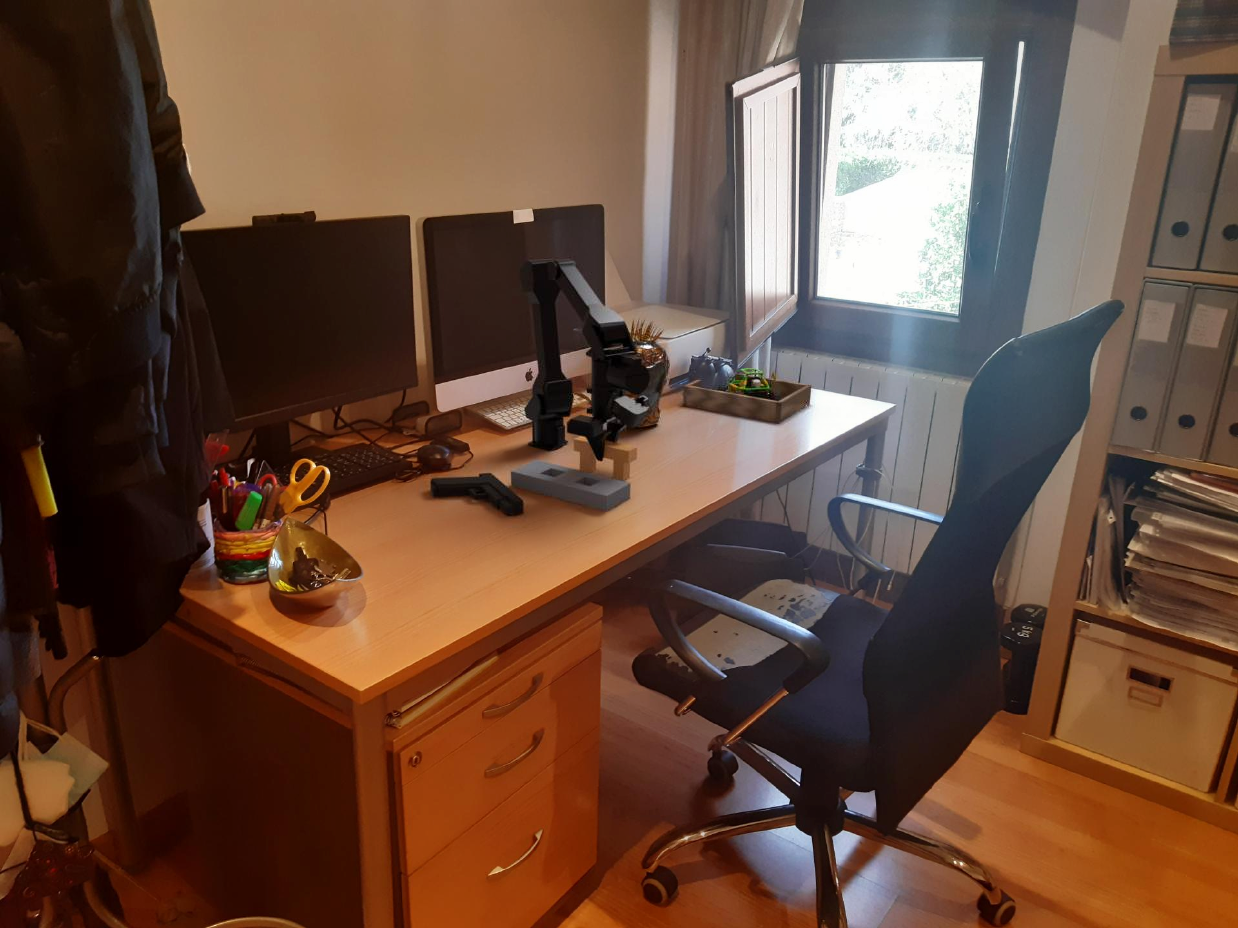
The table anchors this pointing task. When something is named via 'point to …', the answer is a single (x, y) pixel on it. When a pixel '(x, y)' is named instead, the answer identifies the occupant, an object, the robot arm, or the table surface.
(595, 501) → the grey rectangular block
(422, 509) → the table surface
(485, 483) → the handgun
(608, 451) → the wooden arch block
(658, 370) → the mask
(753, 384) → the motor vehicle
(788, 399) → the tray
